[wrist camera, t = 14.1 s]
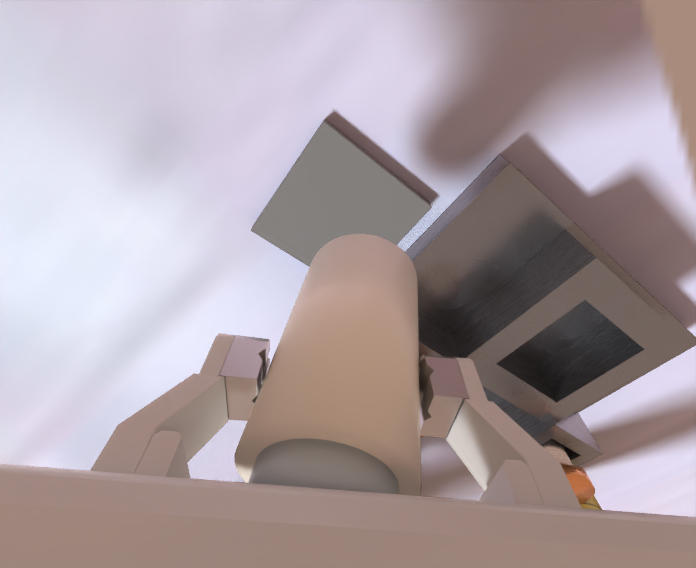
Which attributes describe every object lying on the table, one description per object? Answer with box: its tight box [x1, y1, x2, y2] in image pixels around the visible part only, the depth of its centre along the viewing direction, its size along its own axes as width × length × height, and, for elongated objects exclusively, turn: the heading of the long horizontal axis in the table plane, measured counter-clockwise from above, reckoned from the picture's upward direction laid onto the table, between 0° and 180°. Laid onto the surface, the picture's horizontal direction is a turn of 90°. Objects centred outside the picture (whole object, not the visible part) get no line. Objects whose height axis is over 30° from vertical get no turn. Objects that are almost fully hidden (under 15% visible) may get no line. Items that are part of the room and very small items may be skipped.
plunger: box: [541, 439, 595, 505], centre depth 25 cm, size 4×4×6 cm
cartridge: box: [235, 234, 421, 496], centre depth 11 cm, size 4×4×10 cm
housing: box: [405, 154, 696, 466], centre depth 23 cm, size 19×15×5 cm
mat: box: [251, 119, 432, 267], centre depth 20 cm, size 7×7×1 cm
